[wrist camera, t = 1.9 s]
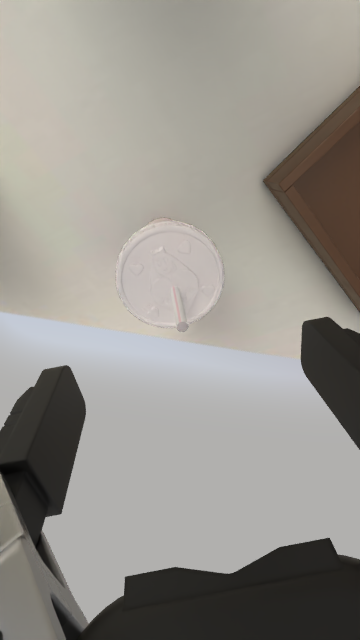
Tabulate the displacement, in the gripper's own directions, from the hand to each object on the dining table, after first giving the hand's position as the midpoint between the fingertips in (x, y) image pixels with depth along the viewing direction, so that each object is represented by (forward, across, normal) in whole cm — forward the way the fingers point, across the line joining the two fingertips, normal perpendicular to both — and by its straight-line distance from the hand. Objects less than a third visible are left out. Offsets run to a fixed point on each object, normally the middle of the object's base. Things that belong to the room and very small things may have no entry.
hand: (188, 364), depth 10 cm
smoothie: (+18, 0, 0) cm, 18 cm away
